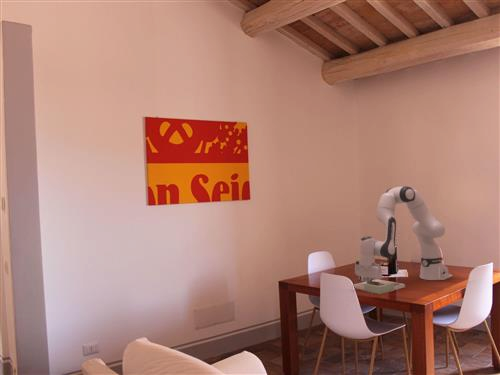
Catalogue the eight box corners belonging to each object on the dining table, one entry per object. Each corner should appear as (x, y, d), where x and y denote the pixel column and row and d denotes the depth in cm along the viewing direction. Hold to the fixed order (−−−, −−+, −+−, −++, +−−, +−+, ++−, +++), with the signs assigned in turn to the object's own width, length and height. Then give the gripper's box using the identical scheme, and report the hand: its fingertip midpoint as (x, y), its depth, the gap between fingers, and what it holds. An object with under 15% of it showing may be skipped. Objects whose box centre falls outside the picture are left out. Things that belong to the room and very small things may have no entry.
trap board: (377, 282, 310) (376, 275, 310) (406, 287, 290) (406, 280, 290) (351, 288, 297) (350, 281, 297) (380, 294, 277) (379, 286, 277)
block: (373, 285, 292) (373, 281, 292) (379, 286, 287) (379, 282, 287) (368, 287, 289) (367, 282, 289) (373, 288, 285) (373, 283, 285)
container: (363, 281, 313) (362, 262, 314) (358, 279, 321) (357, 261, 321) (374, 280, 315) (372, 261, 315) (369, 278, 323) (367, 260, 323)
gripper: (383, 263, 285) (385, 285, 285) (359, 260, 302) (361, 281, 302) (376, 264, 281) (378, 287, 281) (352, 261, 299) (354, 282, 299)
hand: (369, 284), depth 292 cm, fingers closed
